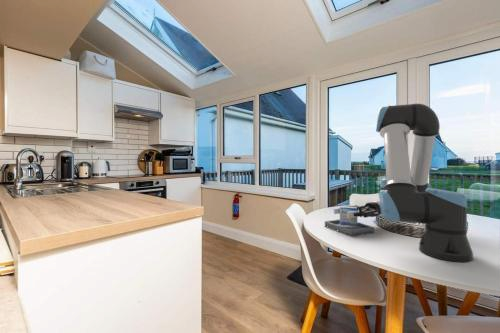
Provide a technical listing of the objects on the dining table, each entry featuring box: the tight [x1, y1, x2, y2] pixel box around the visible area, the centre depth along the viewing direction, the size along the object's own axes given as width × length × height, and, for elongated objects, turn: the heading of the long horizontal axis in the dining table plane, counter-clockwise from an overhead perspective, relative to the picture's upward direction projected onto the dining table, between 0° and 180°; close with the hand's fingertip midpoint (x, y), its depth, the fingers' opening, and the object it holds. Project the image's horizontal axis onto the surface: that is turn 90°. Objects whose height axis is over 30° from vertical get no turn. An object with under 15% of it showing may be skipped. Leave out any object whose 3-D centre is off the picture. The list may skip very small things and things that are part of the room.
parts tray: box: [324, 218, 375, 237], centre depth 118 cm, size 18×14×2 cm
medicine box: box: [339, 205, 359, 226], centre depth 118 cm, size 8×4×9 cm, turn 73°
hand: (340, 213), depth 116 cm, fingers closed on medicine box, 8 cm apart
